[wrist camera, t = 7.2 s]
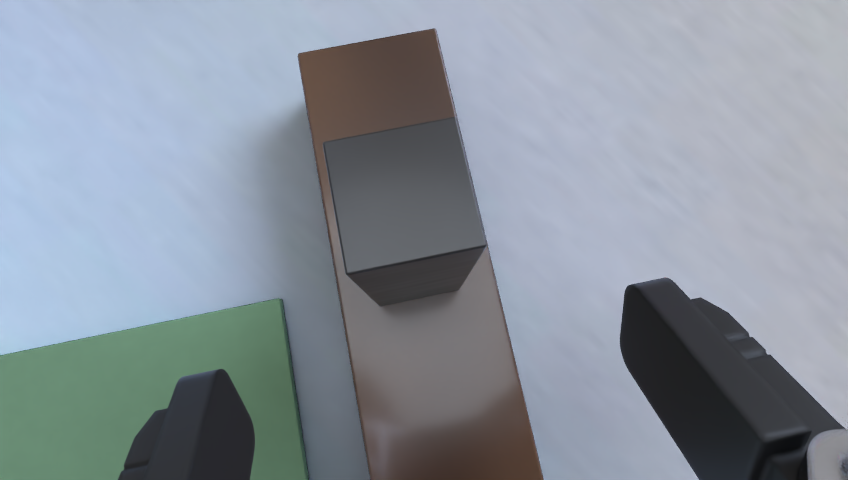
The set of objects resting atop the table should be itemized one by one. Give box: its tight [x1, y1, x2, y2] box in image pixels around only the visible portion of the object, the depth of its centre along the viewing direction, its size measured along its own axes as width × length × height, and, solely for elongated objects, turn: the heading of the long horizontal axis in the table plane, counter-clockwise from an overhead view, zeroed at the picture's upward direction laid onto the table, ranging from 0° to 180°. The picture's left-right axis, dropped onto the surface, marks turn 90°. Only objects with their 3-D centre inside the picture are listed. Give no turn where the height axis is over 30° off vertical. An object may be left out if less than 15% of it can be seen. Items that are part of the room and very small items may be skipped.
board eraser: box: [298, 29, 544, 480], centre depth 14 cm, size 5×16×10 cm, turn 12°
